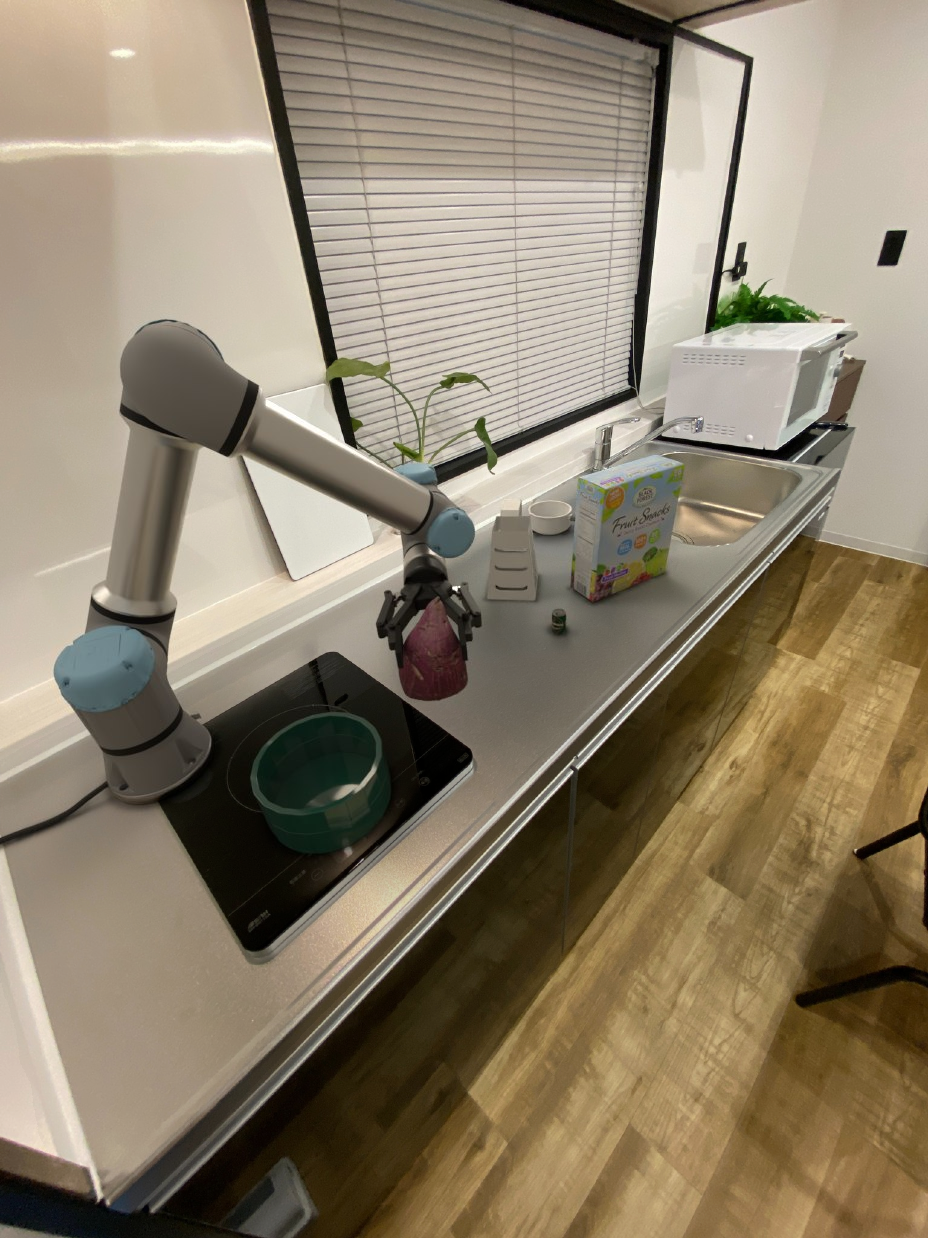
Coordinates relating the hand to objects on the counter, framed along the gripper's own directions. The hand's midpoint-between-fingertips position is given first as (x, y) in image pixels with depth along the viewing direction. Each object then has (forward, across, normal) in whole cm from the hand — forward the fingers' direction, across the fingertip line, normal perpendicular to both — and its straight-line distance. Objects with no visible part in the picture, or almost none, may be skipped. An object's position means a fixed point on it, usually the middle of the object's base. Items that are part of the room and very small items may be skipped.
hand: (432, 656), depth 73 cm
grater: (-45, -19, -18) cm, 52 cm away
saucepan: (-70, -37, -18) cm, 82 cm away
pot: (+6, +17, -19) cm, 26 cm away
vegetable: (-5, 0, -8) cm, 9 cm away
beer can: (-27, -25, -18) cm, 41 cm away
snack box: (-42, -42, -18) cm, 63 cm away
